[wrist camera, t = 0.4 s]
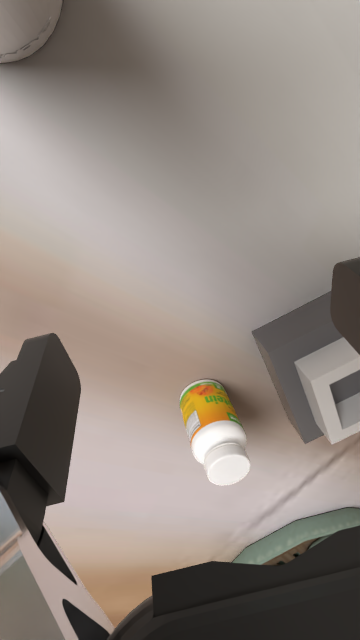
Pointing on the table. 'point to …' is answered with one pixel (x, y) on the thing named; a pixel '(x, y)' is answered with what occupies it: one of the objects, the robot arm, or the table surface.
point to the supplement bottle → (214, 432)
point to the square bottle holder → (313, 371)
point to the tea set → (298, 537)
